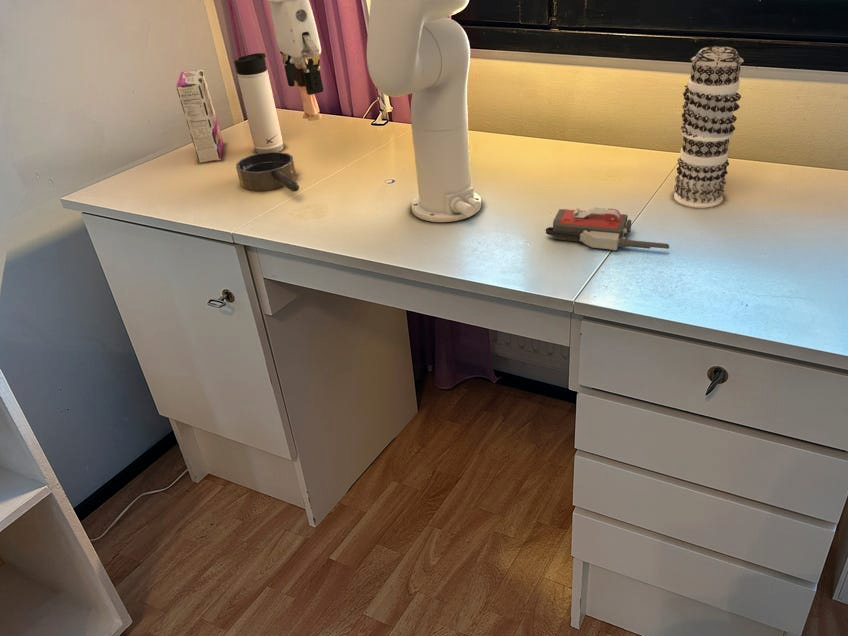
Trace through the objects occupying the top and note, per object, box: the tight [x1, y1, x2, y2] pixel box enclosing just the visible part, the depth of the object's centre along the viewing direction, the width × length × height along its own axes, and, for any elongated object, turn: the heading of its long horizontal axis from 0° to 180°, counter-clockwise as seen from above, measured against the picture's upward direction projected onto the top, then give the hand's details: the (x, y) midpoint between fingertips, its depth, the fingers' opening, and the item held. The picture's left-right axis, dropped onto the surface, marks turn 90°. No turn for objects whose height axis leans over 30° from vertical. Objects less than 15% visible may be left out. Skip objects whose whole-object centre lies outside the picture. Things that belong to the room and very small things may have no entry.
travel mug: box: [234, 52, 285, 154], centre depth 156 cm, size 6×7×20 cm
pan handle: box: [273, 170, 300, 193], centre depth 139 cm, size 10×2×2 cm, turn 36°
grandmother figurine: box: [290, 53, 323, 122], centre depth 142 cm, size 8×4×13 cm, turn 47°
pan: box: [235, 151, 297, 192], centre depth 146 cm, size 11×11×4 cm
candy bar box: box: [175, 69, 224, 164], centre depth 156 cm, size 11×5×16 cm, turn 13°
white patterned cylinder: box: [673, 45, 744, 209], centre depth 123 cm, size 9×9×25 cm
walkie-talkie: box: [545, 206, 670, 251], centre depth 118 cm, size 9×4×20 cm
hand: (305, 88), depth 142 cm, fingers closed on grandmother figurine, 8 cm apart
